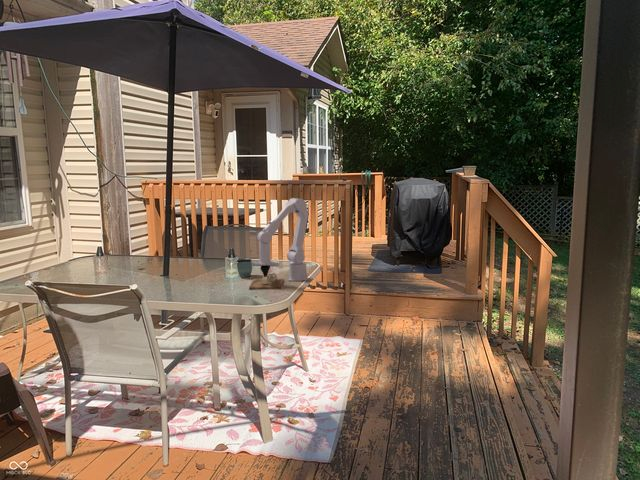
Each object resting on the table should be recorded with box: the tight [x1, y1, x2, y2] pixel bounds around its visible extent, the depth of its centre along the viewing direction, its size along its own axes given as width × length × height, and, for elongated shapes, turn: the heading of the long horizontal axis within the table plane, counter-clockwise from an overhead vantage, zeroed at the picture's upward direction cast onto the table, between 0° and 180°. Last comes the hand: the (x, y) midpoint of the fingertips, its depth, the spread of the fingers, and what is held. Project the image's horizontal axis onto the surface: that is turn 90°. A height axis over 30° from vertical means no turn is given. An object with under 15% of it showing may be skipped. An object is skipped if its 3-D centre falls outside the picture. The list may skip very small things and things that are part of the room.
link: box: [261, 272, 278, 284], centre depth 262 cm, size 12×4×4 cm, turn 159°
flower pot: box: [235, 258, 253, 278], centre depth 282 cm, size 9×9×9 cm
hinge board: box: [248, 273, 284, 290], centre depth 260 cm, size 16×18×6 cm
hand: (265, 279), depth 262 cm, fingers closed, pressing on link
